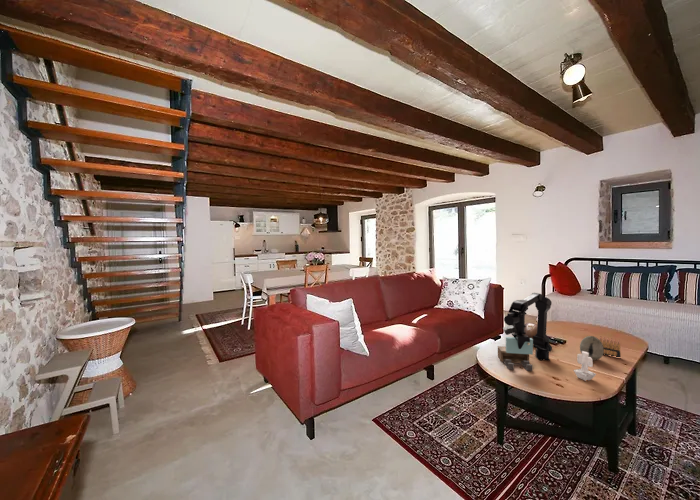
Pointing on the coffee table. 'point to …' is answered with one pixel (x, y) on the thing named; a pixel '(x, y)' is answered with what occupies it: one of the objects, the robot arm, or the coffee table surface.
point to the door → (513, 346)
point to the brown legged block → (514, 359)
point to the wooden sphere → (530, 329)
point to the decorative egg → (592, 347)
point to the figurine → (584, 366)
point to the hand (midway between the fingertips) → (518, 347)
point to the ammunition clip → (611, 347)
